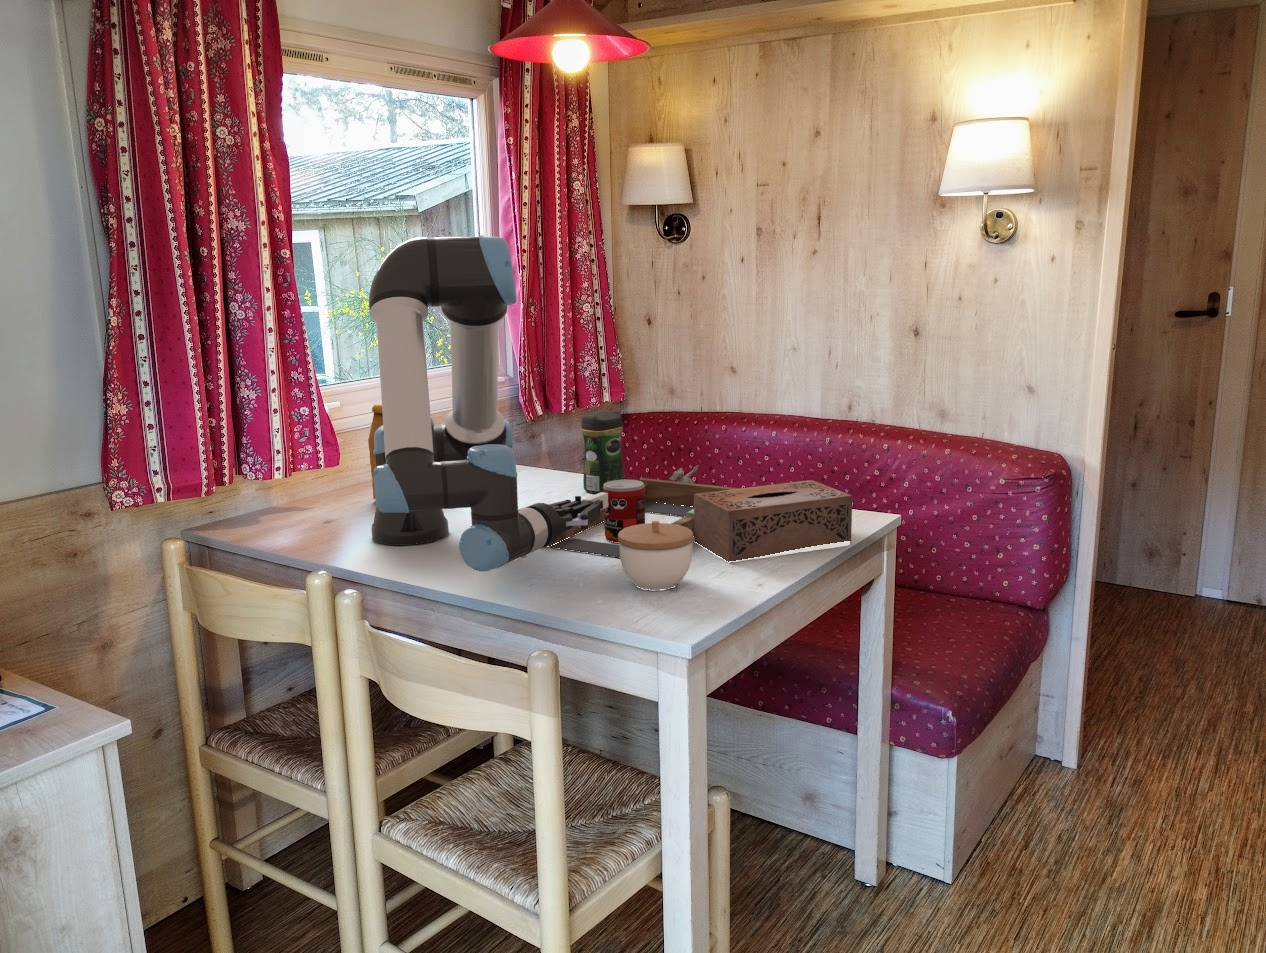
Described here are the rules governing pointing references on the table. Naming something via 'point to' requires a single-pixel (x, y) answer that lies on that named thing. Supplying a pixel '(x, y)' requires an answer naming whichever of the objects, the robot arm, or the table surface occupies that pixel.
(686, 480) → the grey toy figurine
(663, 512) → the pad
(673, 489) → the lane box
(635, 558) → the lidded bowl
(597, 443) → the coffee jar
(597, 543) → the near trap pad
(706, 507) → the tissue box cover
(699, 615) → the table surface
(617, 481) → the canned food
